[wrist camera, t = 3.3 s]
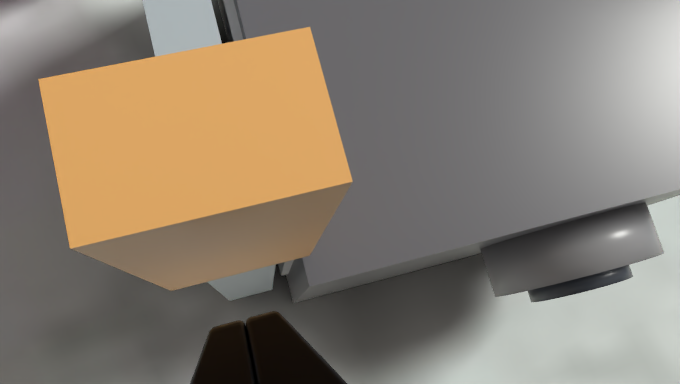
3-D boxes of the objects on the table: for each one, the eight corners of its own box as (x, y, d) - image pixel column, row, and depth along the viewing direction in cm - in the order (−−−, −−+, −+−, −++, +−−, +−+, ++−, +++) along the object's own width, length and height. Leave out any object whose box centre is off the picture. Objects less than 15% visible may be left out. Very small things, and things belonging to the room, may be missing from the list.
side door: (292, 284, 18) (352, 181, 5) (208, 306, 17) (70, 248, 5) (221, -1, 19) (144, -573, 7) (142, 13, 19) (-84, -566, 7)
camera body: (608, 271, 19) (820, 235, 12) (299, 359, 18) (323, 380, 10) (490, -71, 21) (608, -281, 14) (205, -21, 20) (170, -229, 12)
